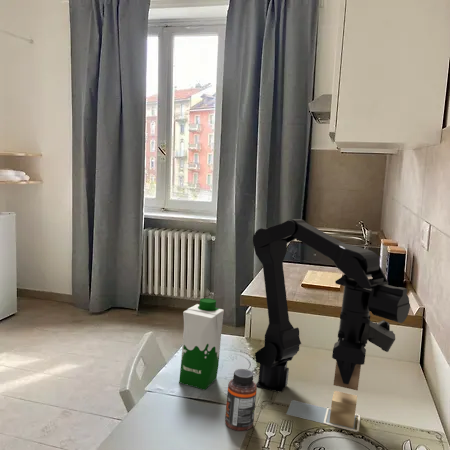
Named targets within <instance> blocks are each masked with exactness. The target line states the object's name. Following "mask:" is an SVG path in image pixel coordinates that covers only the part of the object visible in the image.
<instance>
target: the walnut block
mask: <svg viewBox="0 0 450 450" xmlns="http://www.w3.org/2000/svg"><path fill="white" fill-rule="evenodd" d="M361 366H362V365H360V364H356V366H355V368H354V371H353V373H352V376H351V379H350V382H349V384H344V383H343V381H342V377H341V374H340V371H339V368H338V365H337V362H335V370H334V378H333V386H336V387H339V388H344V389H348V390H353V391H358V390H359V383H360V375H361Z"/></svg>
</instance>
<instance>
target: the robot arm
mask: <svg viewBox="0 0 450 450" xmlns="http://www.w3.org/2000/svg"><path fill="white" fill-rule="evenodd" d="M294 240H297V241H299V242H301V243H302V244H304V245H306V246H308V247H310V248H311V249H313V250H315V251H316V252H318V253H320V254H322V255H323V256H324V257H327V258H328V259H329V260H331V261H332V262H333V264H334V265H335V267H336V268H337V270H339V271H341V273H343V274H342V276H341V277H340V278H338V279H335V281H334V283H335V284H336V285H338V286H339V285H340V286H343V294H342V303H341V311H340V313H339V327H338V328H339V329H338V331H337V338H338V339H337V341H336V342H335V343H334V345H333V347H332V348H333V349H332V355H331V358H332V359H334V360H336V362H337V365H338V368H339V371H340V374H341V377H342V381H343V383H344V384H349V382H350V379H351V376H352V373H353V371H354V368H355V366H356V364H360V365H361V366H363V365H365V362H366V354H367V349H366V348H365V347H366V345H367V344H368V342H369V343H371V344H373V345H374V346H377V347H378V348H380V349H381V350H382V351H383V352H386V353H388V352H390V349H391V348H392V346H393V344H394V343H395V341H396V334H395V333H394V331H393V330H390V327H391V326H390V322H388V321H386V320H390V321H392V322H394V323H395V322H397V323H399V324H402V323H404V322H405V321H406V320H407V318H408V316H409V314H410V313H409V312H410V309H411V303H410V297H409V295H408V289H407V288H405V287H400V286H398V287H397V286H393V285H389V281H388V279H387V277H386V275H385V274H384V271H383V270H382V267H381V264H380V263H381V262H380V259H379V255H378V254H377V253H376V252H375V251H373V250H370V249H367V248H364V247H361V246H356V245H352V244H348V243H345V242H342V241H341V240H339V239H337V238H335V237H334V236H331V235H329V234H328V233H326V232H324V231H322V230H320V229H318V228H317V227H315V226H313V225H311V224H309V223H307V222H306V221H305V220H304V219H300V218H294V219H293V218H291V219H287V220H286V221H284V222H282V223H278V224H277V225H273V226H270V227H268V228H267V227H263V228H258V229H257V230H256V231H255V233H254V234H253V236H252V245H253V249H254V253H255V255H256V256H257V259H258V261H259V262H260V264H262V271H263V278H264V288H265V290H264V291H265V296H266V297H265V298H266V306H267V307H266V308H267V314H268V315H267V316H268V325H267V327H266V331H265V334H264V346H263V347H261V348H259V350H257V351H256V352H254V356H255V357H254V358H255V362H256V363H258V364H259V370H258V371H259V372H258V379H257V383H255V384H256V386H257V388H260V389H264V390H268V391H272V392H277V393H282V392H283V391H284V389H286V387H287V385H288V382H289V381H288V380H289V373H290V371H289V370H290V368H289V367H288V362H290V361H291V362H292V360H293V358H294V356H296V355H297V354H298V352H299V351H300V345H302V342H301V339H300V329H299V327H294V326H293V324H292V323H291V321H290V318H289V317H290V316H289V309H288V307H289V306H288V298H287V291H286V290H287V289H286V281H285V273H284V264H283V263H284V260H285V258H286V254H287V251H288V244H289V243H291V242H294ZM370 277H371V278H370ZM370 312H371V314H372V315H373V316H376V317H379V318H382V319H383V320H381V321H379V322H377V321H376V322H374V321H373V320H371V314H370ZM385 319H386V320H385ZM336 362H335V363H336Z"/></svg>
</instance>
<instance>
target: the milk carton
mask: <svg viewBox="0 0 450 450" xmlns="http://www.w3.org/2000/svg"><path fill="white" fill-rule="evenodd" d="M216 305H217V300H216V299H213V298H209V297H204V298H200V299H199V304H198V303H196V304H195V305H192V306H191V307H188V308H187V309H186V310H184V311H183V312H182V314H183V334H182V346H181V348H182V349H181V359H180V360H181V361H180V368H179V369H180V372H179V381H178V382H179V384H182V385H186V386H190V387H193V388H197V389H200V390H204V391H205V390H207V388H209V387H210V386H211V385H212V384H213V383H214V382H215V381H216V380H217V377H218V372H219V371H218V370H219V363H220V355H221V354H220V352H221V340H222V331H223V330H222V329H223V320H224V312H225V309H224V308H223V309H222V308H219V307H217V306H216Z"/></svg>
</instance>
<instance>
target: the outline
mask: <svg viewBox="0 0 450 450" xmlns="http://www.w3.org/2000/svg"><path fill="white" fill-rule="evenodd" d="M326 408H327V411H326V414H325V418H324V422H323V423H322V424H324V425H328V426H331V427H335V428H339V429H343V430H345V431H346V430H347V431H351V432H355V433H359V432H360V422H361V415H360V414H358V413H355V416H356V417H357V424H356V429H350V428H346V427H342V426H338V425H334V424H330V423H326V419H327V415H328V411H329V409H330V410H331V407H326Z"/></svg>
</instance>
